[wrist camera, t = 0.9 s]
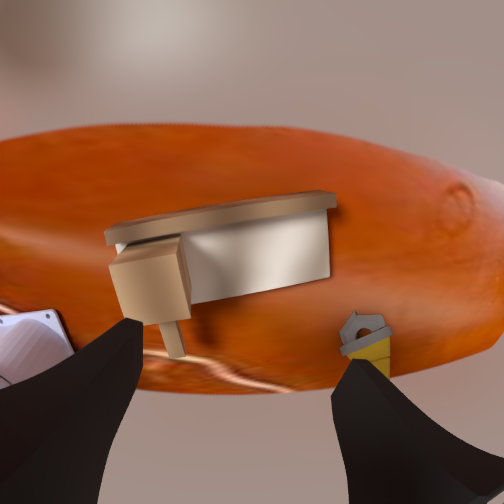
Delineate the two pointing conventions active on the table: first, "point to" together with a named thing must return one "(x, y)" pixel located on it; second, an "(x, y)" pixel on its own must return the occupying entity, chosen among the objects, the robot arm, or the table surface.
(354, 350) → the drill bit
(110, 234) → the board
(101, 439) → the robot arm
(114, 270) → the block
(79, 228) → the table surface
